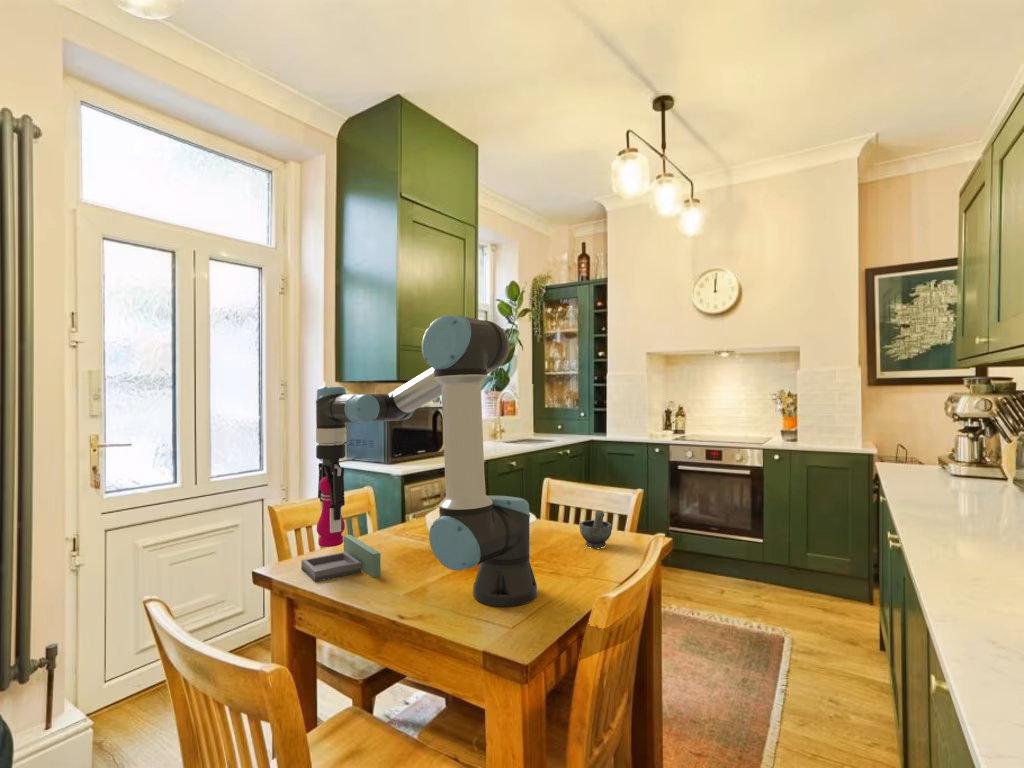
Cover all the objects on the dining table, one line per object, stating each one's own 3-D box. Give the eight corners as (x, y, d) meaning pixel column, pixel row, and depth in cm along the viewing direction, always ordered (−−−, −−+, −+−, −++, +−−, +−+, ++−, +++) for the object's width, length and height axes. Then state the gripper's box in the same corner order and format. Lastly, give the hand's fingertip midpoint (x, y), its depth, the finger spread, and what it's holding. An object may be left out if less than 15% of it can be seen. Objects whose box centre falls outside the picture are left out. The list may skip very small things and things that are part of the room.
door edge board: (380, 575, 140) (380, 552, 140) (373, 577, 139) (373, 554, 139) (350, 555, 157) (350, 534, 157) (343, 556, 156) (343, 535, 156)
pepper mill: (349, 540, 147) (349, 467, 148) (337, 548, 140) (338, 471, 140) (323, 539, 148) (324, 467, 148) (311, 547, 141) (311, 471, 141)
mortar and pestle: (577, 542, 170) (577, 504, 170) (606, 541, 171) (605, 503, 171) (585, 553, 159) (585, 512, 159) (616, 551, 160) (616, 511, 160)
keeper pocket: (360, 572, 143) (360, 562, 143) (314, 581, 136) (314, 571, 136) (345, 560, 152) (345, 551, 152) (301, 569, 145) (301, 559, 145)
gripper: (358, 445, 139) (357, 534, 138) (332, 439, 155) (332, 519, 154) (329, 447, 134) (328, 539, 134) (305, 441, 150) (305, 523, 150)
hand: (330, 528), depth 144 cm, fingers closed on pepper mill, 7 cm apart
